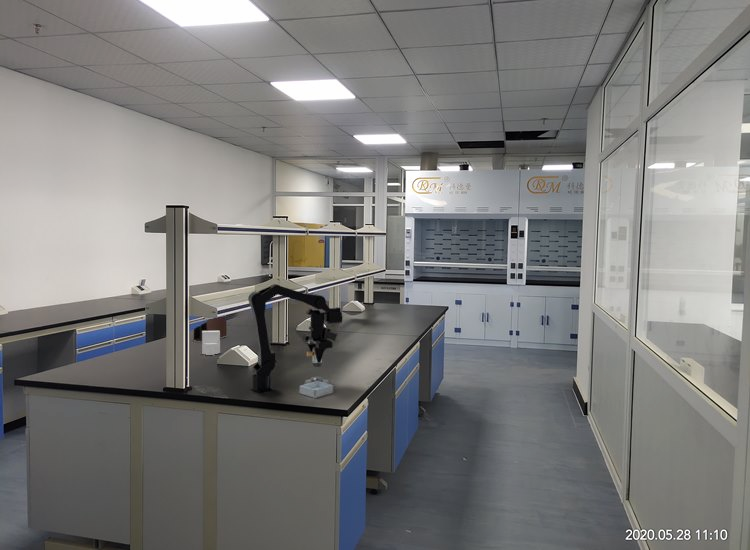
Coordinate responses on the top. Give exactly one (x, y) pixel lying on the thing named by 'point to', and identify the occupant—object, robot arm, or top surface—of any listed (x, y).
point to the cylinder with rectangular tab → (210, 342)
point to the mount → (314, 379)
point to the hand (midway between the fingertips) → (317, 361)
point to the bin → (316, 389)
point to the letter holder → (211, 327)
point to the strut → (314, 359)
